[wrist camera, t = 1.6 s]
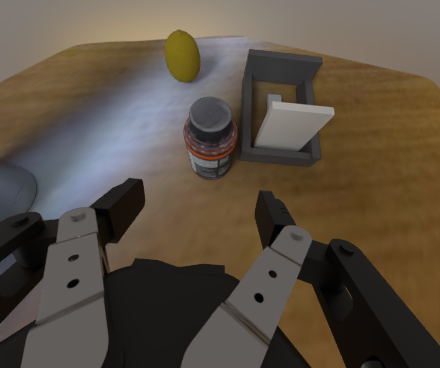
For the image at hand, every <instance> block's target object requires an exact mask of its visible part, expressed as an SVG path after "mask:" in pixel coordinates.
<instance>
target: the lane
mask: <svg viewBox="0 0 440 368" xmlns="http://www.w3.org/2000/svg"><path fill="white" fill-rule="evenodd" d="M322 63H323V62H322V57H316V56H307V55H298V54H289V53H280V52H271V51H262V50H253V49H249V53H248V57H247V62H246V67H245V72H244V77H243V82H242V100H241V121H240V143H239V160H241V161H252V162H263V163H273V164H284V165H295V166H305V167H310V166H311V165H313V164H314V163H316V162H317V161H318V160H320V159H321V153H320V145H319V137H318V132H317V133H316V134H315V135H314V136H313V137H312V138H311V139H310V140H309V141H308V142H307V143H306V144H305V145H304V146H303V147H302V148H301V152H294V151H283V150H273V149H263V148H252V147H251V106H252V80H255V81H265V82H274V83H283V84H293V85H298V86H297V88H296V97H297V104H304V105H313V106H315V104H314V96H313V87H312V79H313V77H314V76H315V74H316V72H317V71H318V69H319V68H320V66H321V65H322Z"/></svg>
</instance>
